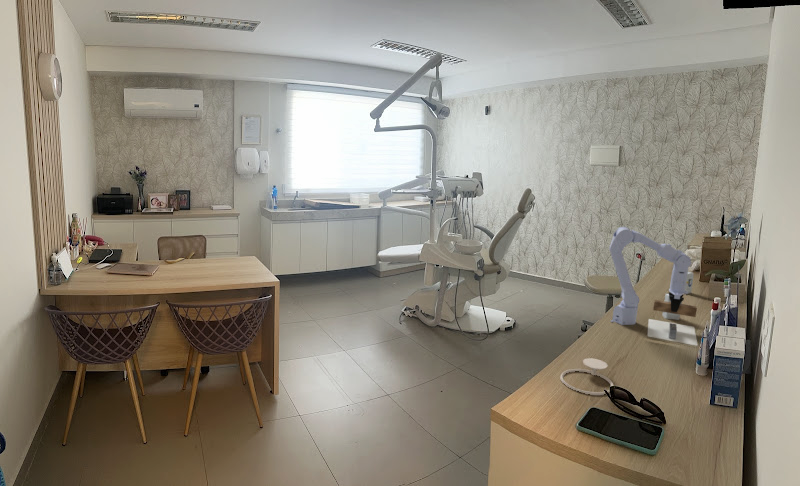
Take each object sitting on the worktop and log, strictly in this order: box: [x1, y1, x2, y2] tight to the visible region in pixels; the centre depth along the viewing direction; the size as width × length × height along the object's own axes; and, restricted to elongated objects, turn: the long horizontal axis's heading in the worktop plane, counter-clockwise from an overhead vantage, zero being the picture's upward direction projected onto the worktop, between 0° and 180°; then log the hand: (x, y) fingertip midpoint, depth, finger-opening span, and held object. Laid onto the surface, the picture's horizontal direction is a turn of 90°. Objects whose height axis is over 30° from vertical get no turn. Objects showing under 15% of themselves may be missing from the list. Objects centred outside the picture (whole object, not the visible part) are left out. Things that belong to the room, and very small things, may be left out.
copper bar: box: [652, 299, 698, 318], centre depth 206 cm, size 16×3×4 cm, turn 62°
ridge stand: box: [646, 318, 698, 348], centre depth 203 cm, size 24×18×5 cm
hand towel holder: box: [559, 357, 615, 396], centre depth 159 cm, size 17×4×20 cm
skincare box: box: [661, 293, 684, 321], centre depth 220 cm, size 6×4×12 cm
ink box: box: [685, 271, 694, 295], centre depth 265 cm, size 9×5×12 cm, turn 25°
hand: (673, 310), depth 207 cm, fingers closed on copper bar, 3 cm apart
